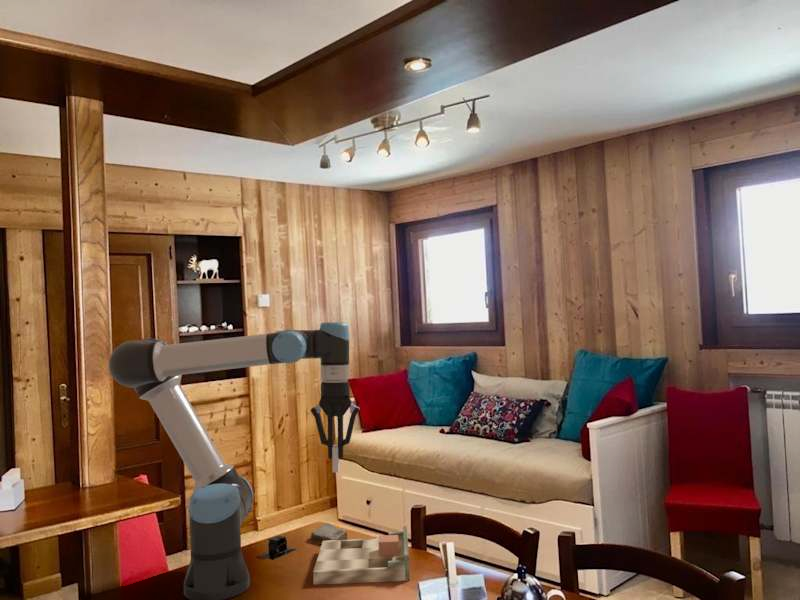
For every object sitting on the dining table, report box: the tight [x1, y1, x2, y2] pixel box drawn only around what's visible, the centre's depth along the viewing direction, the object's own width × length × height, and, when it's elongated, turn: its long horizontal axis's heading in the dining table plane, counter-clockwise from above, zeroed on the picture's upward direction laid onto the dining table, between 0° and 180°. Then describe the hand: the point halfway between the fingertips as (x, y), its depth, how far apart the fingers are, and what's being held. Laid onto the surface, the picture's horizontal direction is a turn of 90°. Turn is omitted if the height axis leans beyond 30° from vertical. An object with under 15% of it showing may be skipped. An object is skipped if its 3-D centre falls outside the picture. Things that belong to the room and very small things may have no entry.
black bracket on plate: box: [258, 534, 297, 561], centre depth 179 cm, size 12×7×5 cm, turn 146°
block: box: [378, 534, 399, 556], centre depth 168 cm, size 5×5×4 cm
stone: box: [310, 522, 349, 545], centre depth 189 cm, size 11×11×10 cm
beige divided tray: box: [312, 525, 411, 586], centre depth 168 cm, size 23×22×6 cm
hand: (335, 471), depth 171 cm, fingers closed
